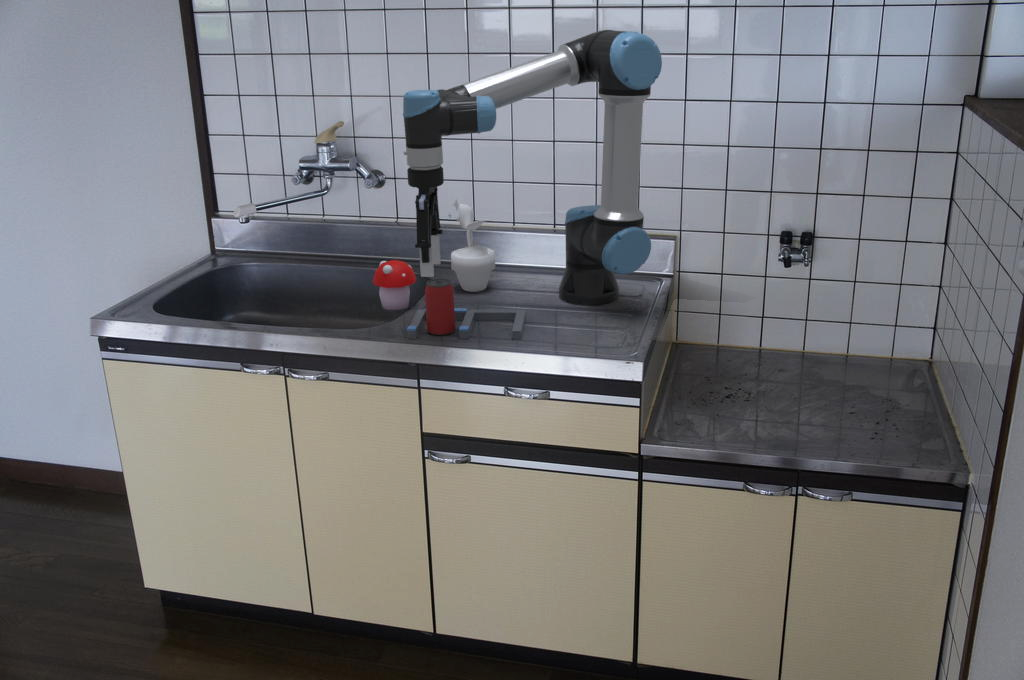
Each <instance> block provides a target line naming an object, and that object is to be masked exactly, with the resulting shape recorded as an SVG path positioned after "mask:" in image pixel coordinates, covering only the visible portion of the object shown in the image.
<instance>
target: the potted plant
mask: <svg viewBox="0 0 1024 680" xmlns="http://www.w3.org/2000/svg"><path fill="white" fill-rule="evenodd" d="M452 206H454V208H455V209H456V211H458V210H459V212H458V213H459V214H458V216H456V218H455V220H456V222H458V223H459V225H460V226H461V227H462V229H464V230H466V241H467V245H468V246H464V248H463V247H462V248H458V249H455V250H452V251H451V254H450V264H451V267H450V268H451V270H452V271H454V272H455V275H456V276H457V280H458V282H459V285H460V288H461V289H462V290H464V291H466V292H470V293H473V292H474V293H477V292H483V291H484V290H485V289H487V287H488V283H489V280H490V276H491V273H492V271H494V270H495V268H496V256H495V255H496V251H495V250H493V249H491V248H488V247H486V246H482V245H477V244H475V245H474V238H473V237H474V236H473V231H475V230H477V229H479V228H480V226H482V225H483V224H484V223H485V222H488V221H489V222H490V221H492V218H491V219H490V218H488V219H480V220H475V221H474V218H475V212H474V209H473V207H471V206H470V205H468V204H464V203H458V199H455V202H454V203H453V204H452ZM447 216H448V217H449V219H451V217H452V214H451V212H449V213H448V215H447Z"/></svg>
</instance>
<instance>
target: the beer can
mask: <svg viewBox="0 0 1024 680" xmlns="http://www.w3.org/2000/svg"><path fill="white" fill-rule="evenodd" d="M454 294H455V292H454V287H453V286H452V281H451V280H450V279H447V278H433V279H432V278H431V279H429V280H427V282H426V286H425V289H424V298H425V299H424V300H425V301H424V302H425V309H426V320H425V321H426V330H427V332H428V333H429V334H431V335H433V336H445V335H449V334H452V333H454V331H456V320H455V312H454V308H455V297H454V296H455V295H454Z"/></svg>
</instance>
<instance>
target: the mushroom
mask: <svg viewBox="0 0 1024 680" xmlns="http://www.w3.org/2000/svg"><path fill="white" fill-rule="evenodd" d="M416 281H417V277H416V275H415V271H414V269H413V267H412V266H411V265H410V264H408V263H407V262H405V261H401V260H396V259H391V260H389V261H387V260H382V261H380V263H379V266H378V267H377V268H376V269H375V271H374V275H373V280H372V284H373V285H375V286H376V287H379V292H378V295H379V298H380V303H381V307H382V309H383V310H387V311H401V310H404V309H407V308H408V307H409V304H410V295H411V290H410V286H411V285H414V283H415V282H416Z"/></svg>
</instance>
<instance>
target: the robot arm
mask: <svg viewBox="0 0 1024 680" xmlns="http://www.w3.org/2000/svg"><path fill="white" fill-rule="evenodd" d="M662 63H663V59H662V53H661V51H660V49H659V46H658V45H657V43H656V42H655V41H654V40H653V38H651V37H650V36H649V35H646V34H644V33H641V32H637V31H631V30H629V31H628V30H625V31H624V30H611V29H602V30H599V31H594V32H592V33H589V34H587V35H585V36H581V37H579V38H576V39H574V40H571V41H568V42H566V43H563V44H560V45H559V46H558V48H557V50H556V51H554V52H551V53H548V54H546V55H543V56H540V57H537V58H534V59H530V60H528V61H526V62H525V61H524V62H522V63H520V64H517V65H514V66H511V67H508V68H505V69H503V70H500V71H497V72H494V73H491V74H489V75H486V76H483V77H480V78H476V79H473V80H471V81H468V82H466V83H462V84H461V85H457V86H454V87H451V88H448V89H442V88H441V89H415V90H413V89H412V90H409V91H407V92H405V94H403V97H402V98H403V101H402V102H403V103H402V105H403V106H402V111H403V113H402V116H403V124H404V126H403V127H404V137H405V148H406V149H405V150H404V151H403V155H404V156H406V165H407V166H408V169H407V170H406V172H407V184H408V186H409V187H412V188H416V189H417V190H418V193H417V194H416V196H415V201H414V204H415V211H416V214H415V215H416V216H415V217H416V243H415V244H414V246H415V248H416V249H418V250H419V254H418V255H419V267H420V277H421V278H424V277H425V278H434V276H435V272H434V271H435V269H434V265H441V248H440V235H443V229H441V227H442V226H441V220H440V210H439V199H438V187H440V186H443V184H444V182H445V181H444V180H445V178H444V167H443V166H442V165H443V164H444V156H443V142H442V141H443V140H442V139H443V138H442V137H449V136H455V135H457V136H458V135H468V134H469V135H470V134H477V135H478V134H481V133H487V132H491V131H493V129H494V128H495V127H496V122H497V109H500V108H503V107H505V106H508V105H512V104H515V103H517V102H519V101H523V100H525V99H528V98H530V97H533V96H536V95H539V94H541V93H545V92H547V91H550V90H552V89H556V88H559V87H561V86H564V85H569V86H571V87H574V86H578V85H580V84H585V83H591V82H592V83H598V96H599V97H600V99H602V101H603V102H604V112H603V113H604V115H603V116H604V117H603V137H602V138H603V143H602V144H603V145H602V164H601V165H602V167H601V191H600V192H601V193H600V194H601V195H600V204H595V205H594V204H593V205H581V206H576V207H572V208H570V209H568V210H567V211H566V213H565V222H564V227H565V229H564V230H565V268H564V271H563V275H562V278H561V281H560V284H559V287H558V288H559V289H558V297H559V299H561V300H562V301H564V302H566V303H570V304H574V305H581V306H596V305H605V304H609V303H612V302H614V301H616V300H617V299H619V297H620V292H619V291H620V288H619V284H618V283H619V282H618V280H617V277H616V274H619V275H627V274H628V275H629V274H633V273H635V272H636V271H638V270H640V268H641V267H642V266H643V265H644V264H646V262H647V260H648V259H649V257H650V254H651V251H652V241H651V236H649V234H648V232H647V231H646V230H645V229H644V219H645V216H644V213H643V212H642V211H641V210H640V209H639V204H638V203H639V192H640V191H639V189H640V173H641V172H640V168H641V166H640V165H641V150H642V149H641V148H642V132H643V131H642V129H643V113H644V112H643V108H644V103H645V101H646V100H647V99H648V98H649V97H650V96H651V90H652V89H651V88H652V85H654V84H655V82H656V80H657V79H658V78H659V76H660V74H661V72H662V66H663V64H662Z"/></svg>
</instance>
